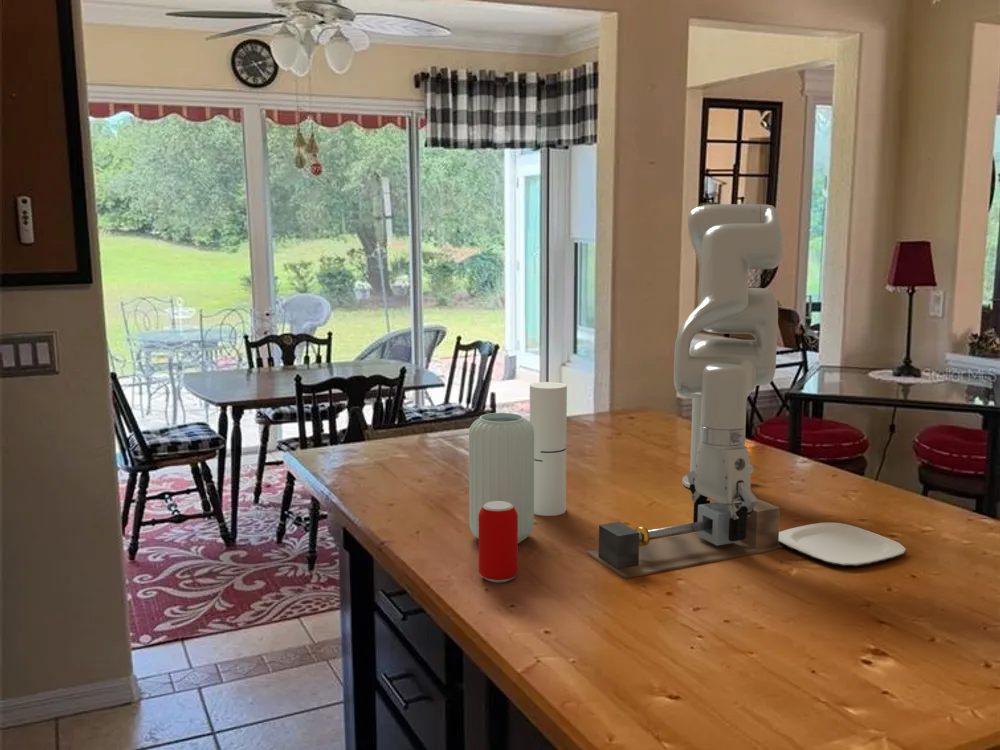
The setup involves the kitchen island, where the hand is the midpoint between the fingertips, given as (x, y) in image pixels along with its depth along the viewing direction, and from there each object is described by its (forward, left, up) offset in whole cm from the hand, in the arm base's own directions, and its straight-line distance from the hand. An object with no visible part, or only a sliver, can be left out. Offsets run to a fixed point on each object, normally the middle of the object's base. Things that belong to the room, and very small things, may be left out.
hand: (718, 531), depth 156 cm
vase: (+33, -19, -3) cm, 38 cm away
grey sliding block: (0, 0, -1) cm, 1 cm away
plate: (-18, +10, -3) cm, 21 cm away
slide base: (+7, 0, -2) cm, 7 cm away
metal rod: (+8, 0, 0) cm, 8 cm away
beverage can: (+41, -3, -3) cm, 41 cm away
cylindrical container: (+18, -30, -3) cm, 35 cm away
